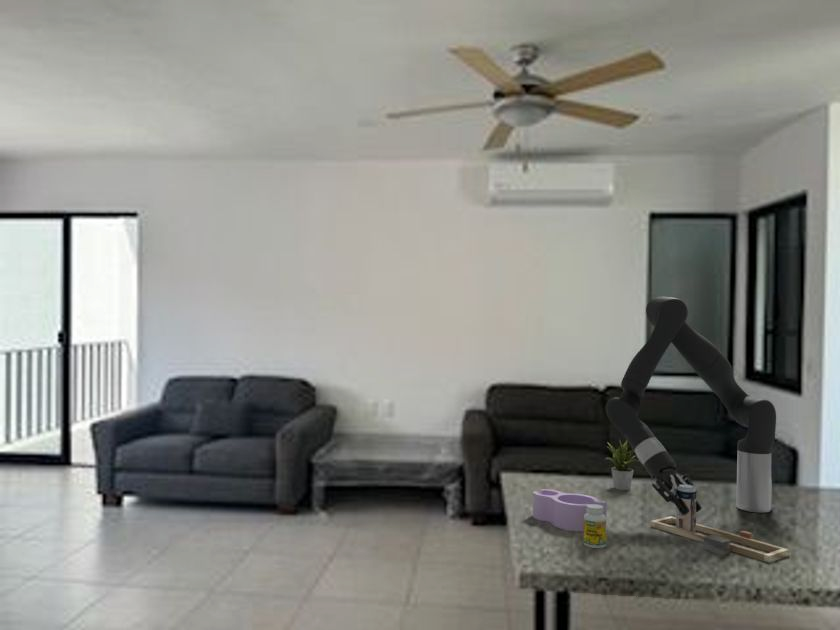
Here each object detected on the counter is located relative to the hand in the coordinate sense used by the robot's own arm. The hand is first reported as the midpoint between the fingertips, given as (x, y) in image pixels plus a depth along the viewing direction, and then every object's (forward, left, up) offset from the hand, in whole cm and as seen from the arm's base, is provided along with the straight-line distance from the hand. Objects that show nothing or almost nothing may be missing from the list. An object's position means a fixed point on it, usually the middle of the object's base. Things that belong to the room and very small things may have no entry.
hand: (692, 511), depth 180 cm
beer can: (0, -2, -6) cm, 6 cm away
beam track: (+2, +7, -6) cm, 9 cm away
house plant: (-24, -41, -6) cm, 48 cm away
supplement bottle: (+30, -7, -6) cm, 31 cm away
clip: (+21, -24, -6) cm, 33 cm away
